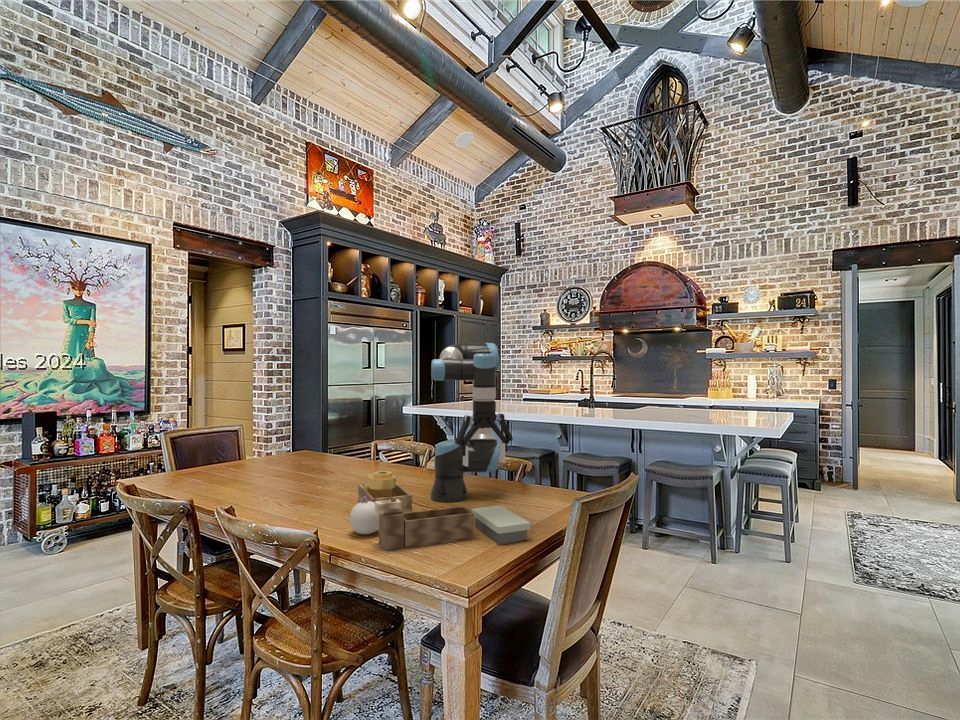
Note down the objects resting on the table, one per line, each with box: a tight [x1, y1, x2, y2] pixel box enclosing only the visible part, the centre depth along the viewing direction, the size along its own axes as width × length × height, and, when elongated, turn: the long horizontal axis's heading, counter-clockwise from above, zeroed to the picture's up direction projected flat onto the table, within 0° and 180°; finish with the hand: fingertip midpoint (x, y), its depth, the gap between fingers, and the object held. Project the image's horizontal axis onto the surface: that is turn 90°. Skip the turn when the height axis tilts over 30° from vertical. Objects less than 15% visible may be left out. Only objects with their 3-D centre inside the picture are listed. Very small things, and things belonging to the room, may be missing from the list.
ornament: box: [349, 496, 379, 535], centre depth 165 cm, size 10×10×12 cm
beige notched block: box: [375, 497, 401, 515], centre depth 154 cm, size 7×4×4 cm, turn 113°
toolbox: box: [378, 505, 475, 552], centre depth 158 cm, size 28×9×11 cm, turn 113°
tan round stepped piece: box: [363, 470, 397, 499], centre depth 187 cm, size 20×9×16 cm, turn 23°
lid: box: [470, 505, 532, 534], centre depth 166 cm, size 22×11×2 cm, turn 23°
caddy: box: [357, 481, 413, 513], centre depth 186 cm, size 14×25×9 cm, turn 23°
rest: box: [474, 517, 528, 545], centre depth 166 cm, size 9×20×4 cm, turn 23°
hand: (484, 463), depth 170 cm, fingers open, 13 cm apart
